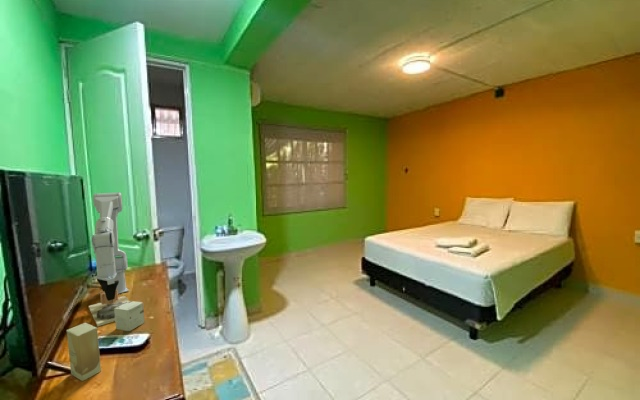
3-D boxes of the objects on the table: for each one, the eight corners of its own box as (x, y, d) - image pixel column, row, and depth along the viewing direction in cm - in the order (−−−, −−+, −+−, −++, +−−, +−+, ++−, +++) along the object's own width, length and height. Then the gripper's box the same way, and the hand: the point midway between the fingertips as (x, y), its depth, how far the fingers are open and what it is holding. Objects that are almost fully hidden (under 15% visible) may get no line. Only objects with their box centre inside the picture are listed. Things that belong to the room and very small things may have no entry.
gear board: (88, 308, 113) (87, 297, 112) (125, 298, 121) (124, 287, 121) (97, 326, 99) (96, 314, 98) (137, 313, 107) (136, 302, 107)
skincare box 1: (70, 374, 75) (64, 329, 74) (89, 364, 79) (85, 321, 78) (82, 382, 72) (77, 335, 71) (102, 371, 76) (97, 327, 75)
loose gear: (100, 301, 112) (98, 291, 112) (116, 297, 116) (115, 287, 116) (102, 305, 109) (101, 295, 108) (119, 301, 112) (118, 291, 112)
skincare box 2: (129, 331, 95) (127, 310, 94) (115, 329, 97) (113, 308, 96) (145, 322, 101) (143, 302, 100) (132, 320, 102) (130, 300, 102)
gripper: (89, 262, 113) (93, 295, 114) (95, 270, 103) (100, 306, 104) (111, 257, 118) (114, 289, 119) (119, 265, 108) (123, 300, 109)
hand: (109, 297), depth 112 cm, fingers closed on loose gear, 5 cm apart
